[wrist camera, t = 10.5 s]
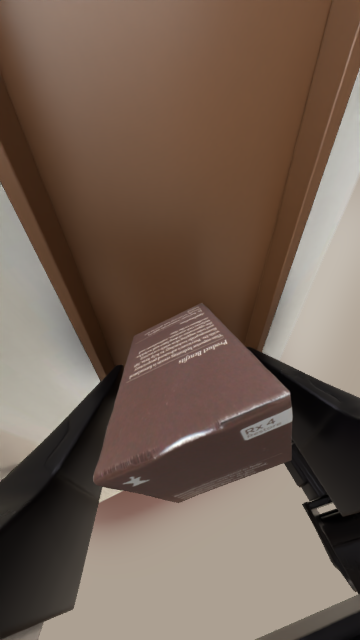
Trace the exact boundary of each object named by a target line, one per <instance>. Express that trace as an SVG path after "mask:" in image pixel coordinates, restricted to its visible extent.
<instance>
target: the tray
mask: <svg viewBox="0 0 360 640" xmlns="http://www.w3.org/2000/svg"><path fill="white" fill-rule="evenodd" d="M359 68H360V0H0V182H1V184H2V186H3V188H4V190H5V192H6V194H7V196H8V198H9V200H10V202H11V204H12V206H13V208H14V210H15V212H16V214H17V216H18V218H19V220H20V222H21V224H22V226H23V228H24V230H25V232H26V234H27V236H28V238H29V240H30V242H31V244H32V246H33V248H34V250H35V252H36V254H37V256H38V258H39V260H40V262H41V264H42V266H43V268H44V270H45V272H46V274H47V276H48V278H49V279H50V281H51V283H52V285H53V287H54V289H55V291H56V293H57V295H58V297H59V299H60V301H61V303H62V305H63V307H64V309H65V311H66V313H67V315H68V317H69V319H70V321H71V323H72V325H73V327H74V329H75V331H76V333H77V335H78V337H79V339H80V341H81V343H82V345H83V347H84V349H85V351H86V353H87V355H88V357H89V359H90V361H91V363H92V365H93V367H94V369H95V371H96V373H97V375H98V377H99V379H100V381H102V380H103V379H104V378H105V377H106V376H107V374H108V373H109V372H110V371H111V370H112V369H113V368H114V367H115V366H116V365H123V366H124V368H125V365H126V362H127V358H128V355H129V351H130V348H131V344H132V341H133V337H134V336H135V335H137V334H139V333H141V332H143V331H145V330H147V329H149V328H151V327H153V326H155V325H157V324H159V323H161V322H163V321H165V320H167V319H170V318H172V317H174V316H176V315H178V314H180V313H182V312H184V311H186V310H188V309H190V308H192V307H194V306H196V305H198V304H200V303H203V304H204V305H205V306H206V307H207V308H208V309H209V310H210V311H211V312H212V313H213V314H214V315H215V316H216V317H217V318H218V319H219V320H220V321H221V322H222V323H223V324H224V325H225V326H226V327H227V328H228V329H229V330H230V331H231V332H232V333H233V334H234V335H235V337H237V338H238V340H239V341H240V342H241V343H242V344H243V345H244V346H245V347H251V348H253V349H256V350H258V351H260V352H262V350H263V347H264V344H265V341H266V338H267V336H268V333H269V330H270V327H271V324H272V321H273V318H274V315H275V312H276V309H277V306H278V304H279V301H280V298H281V295H282V292H283V289H284V286H285V283H286V280H287V277H288V275H289V272H290V269H291V266H292V263H293V260H294V257H295V254H296V251H297V248H298V245H299V243H300V240H301V237H302V234H303V231H304V228H305V225H306V222H307V219H308V216H309V214H310V211H311V208H312V205H313V202H314V199H315V196H316V193H317V190H318V187H319V184H320V182H321V179H322V176H323V173H324V170H325V167H326V164H327V161H328V158H329V155H330V153H331V150H332V147H333V144H334V141H335V138H336V135H337V132H338V129H339V126H340V124H341V121H342V118H343V115H344V112H345V109H346V106H347V103H348V100H349V97H350V94H351V92H352V89H353V86H354V83H355V80H356V77H357V74H358V71H359Z"/></svg>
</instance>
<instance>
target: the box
mask: <svg viewBox="0 0 360 640" xmlns="http://www.w3.org/2000/svg"><path fill="white" fill-rule="evenodd" d="M292 418H293V415H292V405H291V398H290V392H289V390H288V389H287V388H286V387H285V386H284V385H283V384H282V383H281V382H280V381H279V380H278V379H277V378H276V377H275V376H274V375H273V374H272V373H271V372H270V371H269V370H268V369H267V368H265V366H264V365H263V364H262V363H261V362H260V361H259V360H258V359H257V358H256V357H255V355H254V354H253V353H252V352H251V351H249V350H248V349H247V348H246V347H245V346H244V345H243V344H242V343H241V342H240V341H239V340H238V338H237V337H235V335H234V334H233V333H232V332H231V331H230V330H229V329H228V328H227V327H226V326H225V325H224V324H223V323H222V322H221V321H220V320H219V319H218V318H217V317H216V316H215V315H214V314H213V313H212V312H211V311H210V310H209V309H208V308H207V307H206V306H205V305H204V304H203V303H200V304H198V305H196V306H194V307H192V308H190V309H188V310H186V311H184V312H182V313H180V314H178V315H176V316H174V317H172V318H170V319H167V320H165V321H163V322H161V323H159V324H157V325H155V326H153V327H151V328H149V329H147V330H145V331H143V332H141V333H139V334H137V335H135V336H134V337H133V341H132V344H131V348H130V351H129V355H128V358H127V362H126V365H125V368H124V372H123V376H122V379H121V382H120V386H119V390H118V393H117V397H116V400H115V404H114V408H113V412H112V414H111V417H110V420H109V423H108V426H107V430H106V434H105V438H104V443H103V447H102V451H101V454H100V458H99V461H98V464H97V466H96V469H95V472H94V475H93V481H94V483H95V484H96V485H98V486H102V487H106V488H111V489H117V490H124V491H129V492H135V493H139V494H144V495H148V496H152V497H155V498H160V499H163V500H168V501H172V502H177V503H179V502H182V501H185V500H187V499H189V498H192V497H194V496H196V495H199V494H202V493H204V492H207V491H210V490H212V489H215V488H217V487H220V486H223V485H226V484H228V483H231V482H234V481H236V480H239V479H242V478H245V477H247V476H250V475H252V474H256V473H258V472H261V471H264V470H266V469H269V468H272V467H274V466H277V465H280V464H283V463H286V462H288V461H291V460H292V442H291V440H292V439H291V438H292Z"/></svg>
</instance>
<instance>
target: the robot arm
mask: <svg viewBox="0 0 360 640" xmlns="http://www.w3.org/2000/svg"><path fill="white" fill-rule="evenodd" d="M246 348H247V349H248V350H249V351H251V352H252V353H253V354H254V355H255V357H256V358H257V359H258V360H259V361H260V362H261V363H262V364H263V365H264V366H265V368H267V369H268V370H269V371H270V372H271V373H272V374H273V375H274V376H275V377H276V378H277V379H278V380H279V381H280V382H281V383H282V384H283V385H284V386H285V387H286V388H287V389H288V390H289V392H290V398H291V405H292V415H293V418H292V440H291V442H292V460H291V461H288V462H286V463H284V464H285V466H286V467H287V469H288V470H289V472H290V474H291V475H292V477H293V479H294V481H295V482H296V484H297V485H298V486H299V487H301V488H302V489H303V491H304V492H305V494H306V496H307V497H308V499H309V501H312V502H305V503H304V504H302V505H303V507H304V509H305V510H306V512H307V514H308V516H309V517H310V519H311V521H312V523H313V525H314V527H315V529H316V531H317V533H318V535H319V537H320V539H321V541H322V543H323V545H324V547H325V550H326V552H327V554H328V556H329V558H330V560H331V562H332V563H333V565H334V566H335V567H336V568H337V569H338V570H339V571H340V572H341V573H342V575H343V576H344V577H345V579H346V580H347V582H348V583H349V585H350V586H351V588H352V589H353V590H354V591H355V592H358V594H359V595H356V596H354V597H352V598H349V599H347V600H345V601H343V602H340V603H338V604H336V605H333V606H331V607H329V608H327V609H324V610H322V611H320V612H317V613H315V614H313V615H310V616H308V617H306V618H304V619H301V620H299V621H297V622H295V623H292V624H290V625H288V626H285V627H283V628H281V629H278V630H276V631H274V632H272V633H269V634H267V635H265V636H262V637H260V638H258V639H256V640H360V398H359V397H356V396H354V395H352V394H349V393H347V392H345V391H343V390H340V389H338V388H335V387H333V386H331V385H329V384H326V383H324V382H322V381H319V380H318V379H316V378H314V377H312V376H310V375H307V374H305V373H303V372H301V371H299V370H297V369H295V368H293V367H291V366H289V365H286V364H285V363H282V362H280V361H278V360H276V359H274V358H272V357H270V356H268V355H266V354H264V353H262V352H260V351H258V350H256V349H253V348H251V347H246ZM123 372H124V366H123V365H116V366H115V367H114V368H113V369H112V370H111V371H110V372H109V373H108V374H107V376H106V377H105V378H104V379H103V380H102V381H101V382H100V383H99V384H98V385H97V386H96V387H95V388H94V389H93V390H92V391H91V392H90V393H89V394H88V395H87V397H86V398H85V399H84V400H83V401H82V402H81V403H80V404H79V405H78V406H77V407H76V408H75V409H74V410H73V411H72V412H71V413H70V414H69V416H68V417H66V419H65V420H64V421H63V422H62V423H61V424H60V425H59V426H58V427H57V428H56V429H55V430H54V431H53V432H52V433H51V434H50V435H49V436H48V437H47V438H46V439H45V440H44V441H43V442H42V443H41V444H40V445H39V446H38V447H37V448H36V449H35V450H34V451H32V452H31V453H30V454H29V455H28V456H27V457H26V458H25V459H24V460H23V461H22V462H21V463H20V464H19V465H18V466H17V467H16V468H15V469H13V470H12V471H11V472H10V473H9V474H8V475H7V476H6V477H5V478H4V479H3V480H2V481H1V482H0V640H38V638H39V635H40V632H41V629H42V625H43V622H44V621H47V620H49V619H51V618H54V617H56V616H58V615H61V614H63V613H66V612H68V611H70V610H72V609H73V608H74V605H75V600H76V597H77V593H78V589H79V584H80V580H81V575H82V572H83V567H84V563H85V559H86V554H87V550H88V546H89V542H90V537H91V533H92V529H93V525H94V521H95V516H96V512H97V508H98V504H99V499H100V495H101V490H102V486H98V485H96V484H95V483H94V481H93V475H94V472H95V469H96V466H97V464H98V461H99V458H100V454H101V451H102V447H103V443H104V438H105V434H106V430H107V426H108V423H109V420H110V417H111V414H112V412H113V408H114V404H115V400H116V397H117V393H118V390H119V386H120V382H121V379H122V376H123ZM313 500H314V501H313ZM332 503H334V505H335V506H336V508H337V509H334V510H331V511H328V512H325V513H322V514H319V512H318V511H317V508H320V507H323V506H326V505H329V504H332Z"/></svg>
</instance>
